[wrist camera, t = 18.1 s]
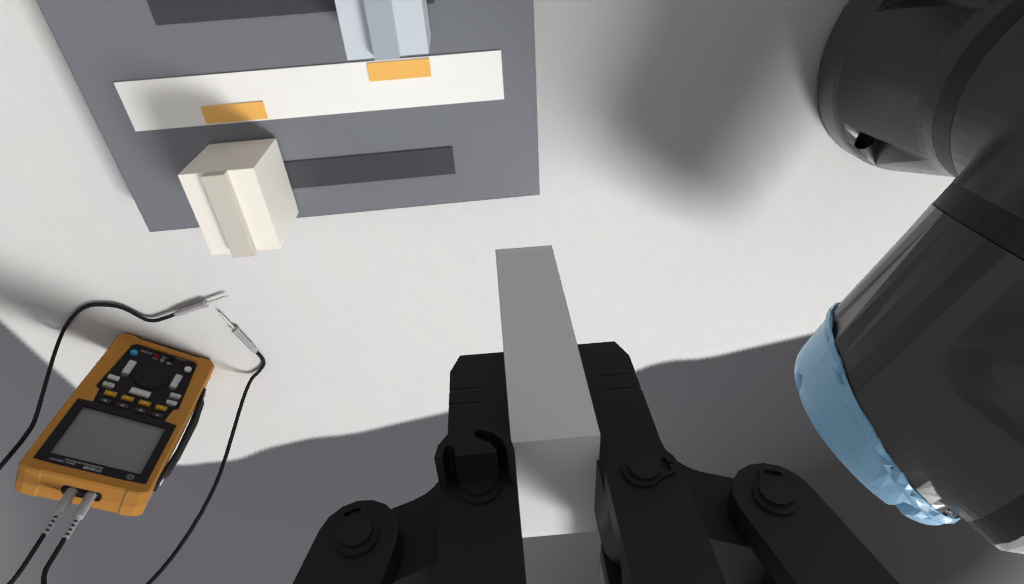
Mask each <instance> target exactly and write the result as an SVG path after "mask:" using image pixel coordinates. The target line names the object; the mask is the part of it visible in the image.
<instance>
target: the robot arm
mask: <svg viewBox="0 0 1024 584" xmlns="http://www.w3.org/2000/svg"><path fill="white" fill-rule="evenodd" d="M818 105H819V111H820V115H821V118H822V121H823V124H824V126H825V128H826V130H827V132H828V133H829V135H830V136H831V137H832V139H833V140H834V141H835V142H836V143H837V144H838V145H839V146H840V147H841V148H843V149H844V150H846V151H847V152H849V153H851V154H852V155H854V156H856V157H857V158H859V159H861V160H862V161H864V162H866V163H868V164H871V165H873V166H876V167H879V168H883V169H887V170H893V171H902V172H912V173H921V174H931V175H941V176H950V177H955V179H954V180H953V182H952V183H951V184H950V185H949V186H948V187H947V189H946V190H945V191H944V192H943V193H942V194H941V195H940V196H939V197H938V198H937V199H936V200H935V202H933V203H932V204H931V205H930V206H929V207H928V208H927V210H926V211H925V212H924V213H923V214H922V215H921V216H920V217H919V218H918V220H917V221H916V222H915V223H914V224H913V225H912V226H911V227H910V229H909V230H908V231H907V232H906V233H905V234H904V235H903V236H902V237H901V239H900V240H899V241H898V242H897V243H896V244H895V245H894V246H893V247H892V248H891V249H890V250H889V251H888V252H887V254H886V255H885V256H884V257H883V258H882V259H881V260H880V261H879V262H878V263H877V264H876V265H875V266H874V267H873V269H872V270H871V271H870V272H869V273H868V274H867V275H866V276H865V277H864V278H863V279H862V280H861V281H860V282H859V284H858V285H857V286H856V287H855V288H854V289H853V290H852V291H851V292H850V293H849V294H848V295H847V296H846V297H845V299H844V300H843V301H842V302H840V303H835V304H834V305H833V306H832V307H831V308H830V309H829V310H828V312H827V315H826V319H825V321H824V322H823V323H822V324H821V326H820V327H819V328H818V329H817V330H816V332H815V333H814V334H813V335H812V337H811V338H810V339H809V340H808V341H807V343H806V344H805V345H804V346H803V347H802V349H801V350H800V352H799V354H798V356H797V359H796V363H795V379H796V386H797V388H798V390H799V393H800V398H801V402H802V404H803V406H804V408H805V410H806V412H807V414H808V416H809V418H810V420H811V421H812V423H813V425H814V426H815V428H816V429H817V431H818V432H819V434H820V435H821V437H822V438H823V439H824V441H825V442H826V444H827V445H828V446H829V447H830V449H831V450H832V451H833V452H834V454H835V455H836V456H837V457H838V458H839V460H840V461H841V462H842V463H843V464H844V465H845V466H846V467H847V468H848V470H850V472H851V473H852V474H853V475H854V476H855V477H856V478H857V479H858V480H859V481H860V482H861V483H862V484H864V485H865V486H866V487H867V488H868V489H869V490H870V491H871V492H872V493H874V494H875V495H876V496H878V497H879V498H880V499H881V500H883V501H884V502H885V503H887V504H889V505H896V507H897V508H898V509H899V510H900V511H901V513H902V514H903V515H905V516H907V517H909V518H911V519H913V520H915V521H917V522H920V523H923V524H927V525H941V524H944V523H946V524H950V523H955V522H957V521H958V520H959V519H960V518H963V519H965V520H966V521H967V522H968V523H970V524H971V525H972V526H973V527H974V528H975V529H976V530H977V531H979V532H980V533H981V534H982V535H983V536H984V537H985V538H986V539H988V540H989V541H990V542H991V543H992V544H993V545H995V546H996V547H997V548H999V549H1000V550H1003V551H1010V552H1016V553H1022V554H1024V0H851V1H850V2H849V4H848V5H847V7H846V8H845V10H844V11H843V13H842V15H841V16H840V18H839V20H838V22H837V24H836V25H835V27H834V29H833V32H832V34H831V36H830V38H829V41H828V43H827V46H826V49H825V52H824V55H823V58H822V62H821V66H820V71H819V78H818ZM496 263H497V275H498V288H499V300H500V312H501V325H502V337H503V349H504V352H499V353H487V354H475V355H463V356H460V357H459V358H458V360H457V362H456V363H455V365H454V367H453V368H452V370H451V372H450V393H449V416H448V435H447V436H446V437H445V438H444V439H443V440H442V442H441V443H440V444H439V445H438V448H437V451H436V454H435V457H434V459H435V464H436V469H437V474H438V479H439V482H438V483H437V484H436V485H435V486H434V488H432V489H431V490H430V491H428V492H427V493H426V494H425V495H423V496H421V497H419V498H417V499H415V500H413V501H411V502H408V503H406V504H403V505H400V506H398V507H395V508H393V509H390V508H389V507H388V506H387V505H386V504H383V503H380V502H376V501H374V500H366V501H356V502H354V503H351V504H349V505H346V506H343V507H342V508H340V509H339V510H338V511H337V512H335V513H334V514H332V515H331V516H330V517H329V518H328V519H327V521H326V522H325V523H324V525H323V526H322V528H321V529H320V530H319V532H318V534H317V536H316V538H315V540H314V542H313V544H312V546H311V548H310V550H309V552H308V554H307V556H306V558H305V560H304V562H303V564H302V566H301V568H300V570H299V572H298V574H297V576H296V578H295V580H294V582H293V584H526V574H525V563H524V553H523V541H522V538H523V537H535V536H545V535H556V534H567V533H578V532H589V531H595V530H596V520H597V525H598V529H599V535H600V539H601V548H600V563H599V582H605V584H899V583H898V582H897V581H896V580H895V578H894V577H893V576H892V575H891V574H890V573H889V572H888V571H887V570H886V569H885V567H883V565H882V564H881V563H880V562H879V561H878V560H877V559H876V558H875V557H874V555H873V554H872V553H871V552H870V551H869V550H868V549H867V548H866V547H865V546H864V544H862V542H861V541H860V540H859V539H858V538H857V537H856V536H855V535H854V533H853V532H852V531H851V530H850V529H849V528H848V527H847V526H846V525H845V524H844V522H843V521H842V520H841V519H840V518H839V517H838V516H837V515H836V514H835V513H834V511H833V510H832V509H831V508H830V507H829V506H828V505H827V504H826V503H825V502H824V501H823V500H822V498H821V497H820V496H819V495H818V494H817V493H816V492H815V491H814V490H813V488H812V487H811V486H810V485H809V484H808V483H806V482H805V481H804V480H803V479H802V478H800V477H799V476H798V475H797V474H795V473H794V472H791V471H789V470H787V469H785V468H783V467H781V466H777V465H771V464H766V463H760V464H753V465H748V466H747V467H745V468H743V469H741V470H739V471H738V473H737V474H736V476H735V478H730V477H724V476H719V475H714V474H708V473H704V472H700V471H697V470H693V469H691V468H689V467H687V466H685V465H683V464H681V463H680V462H678V461H677V460H676V459H675V457H674V456H673V455H671V454H670V453H669V452H668V451H666V449H665V448H664V446H663V444H662V442H661V440H660V438H659V435H658V432H657V430H656V427H655V424H654V421H653V419H652V416H651V413H650V411H649V408H648V405H647V402H646V400H645V397H644V394H643V392H642V390H641V388H640V384H639V381H638V378H637V376H636V375H635V370H634V367H633V365H632V362H631V359H630V357H629V355H628V354H627V353H626V352H625V351H624V350H623V349H622V348H621V347H620V346H619V345H618V344H617V343H616V342H615V341H614V342H602V343H590V344H578V345H577V342H576V338H575V334H574V330H573V326H572V323H571V319H570V315H569V311H568V307H567V303H566V299H565V295H564V291H563V288H562V284H561V280H560V276H559V272H558V268H557V264H556V260H555V256H554V253H553V249H552V245H549V246H536V247H524V248H511V249H498V250H496Z"/></svg>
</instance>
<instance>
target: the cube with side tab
mask: <svg viewBox="0 0 1024 584" xmlns="http://www.w3.org/2000/svg"><path fill="white" fill-rule="evenodd" d="M335 5H336V9H337V14H338V19H339V23H340V28H341V32H342V37H343V42H344V46H345V51H346V56H347V60H358V59H370V58H374V59H375V61H377V60H389V59H400V56H405V55H417V54H429V48H430V40H431V31H430V24H429V16H428V9H427V1H426V0H335Z"/></svg>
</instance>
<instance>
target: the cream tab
mask: <svg viewBox="0 0 1024 584" xmlns="http://www.w3.org/2000/svg"><path fill="white" fill-rule="evenodd" d="M178 177H179V179H180V182H181V184H182V186H183V189H184V191H185V193H186V196H187V198H188V200H189V203H190V205H191V207H192V210H193V212H194V214H195V217H196V219H197V221H198V224H199V226H200V228H201V231H202V233H203V235H204V238H205V240H206V242H207V245H208V247H209V249H210V251H211V254H212V255H218V254H228V253H231V254H232V257H233V258H237V257H248V256H254V255H255V253H256V252H257V251H259V250H269V249H279V248H281V247H282V245H283V243H284V241H285V239H286V237H287V235H288V233H289V231H290V229H291V227H292V225H293V223H294V221H295V219H296V217H297V215H298V213H299V211H298V208H297V204H296V201H295V198H294V195H293V191H292V188H291V185H290V182H289V179H288V175H287V172H286V169H285V166H284V162H283V159H282V156H281V153H280V149H279V146H278V143H277V140H276V138H272V139H261V140H250V141H239V142H227V143H216V144H209V145H208V146H207V147H206V148H205V149H204V150H203V151H202V152H201V153H200V154H199V155H198V156H197V157H196V158H195V159H194V160H193V161H192V162H190V163H189V164H188V165H187V166H186V167H185V168H184V169H183V170H182V171H181V172H180V173H179V174H178Z"/></svg>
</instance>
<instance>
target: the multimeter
mask: <svg viewBox="0 0 1024 584" xmlns="http://www.w3.org/2000/svg"><path fill="white" fill-rule="evenodd" d="M226 297H228V296H222V297H219V298H216V299H214V300H211V301H208V302H207V301H206V300H203V301H202V302H199V303H196V304H193V305H191V306H188V307H185V308H182V309H179V310H177V311H175V312H174V313H172V314H170V315H167V316H164V317H161V318H157V319H148V318H145V317H143V316H141V315H139V314H138V313H136V312H134V311H132V310H130V309H128V308H126V307H123V306H120V305H116V304H108V303H92V304H87V305H85V306H82V307H81V308H79V309H78V310H76V311H75V312H74V313H73V314H72V315H71V317H70V318H69V319H68V320H67V322H66V324H65V325H64V327H63V329H62V330H61V332H60V335H59V337H58V339H57V342H56V345H55V348H54V350H53V354H52V357H51V360H50V363H49V366H48V370H47V373H46V376H45V380H44V383H43V387H42V391H41V394H40V397H39V401H38V404H37V408H36V411H35V414H34V417H33V420H32V422H31V424H30V426H29V428H28V429H27V431H26V432H25V433H24V435H23V436H22V437H21V439H20V440H19V442H18V443H17V444H16V445H15V446H14V447H13V449H12V450H11V451H10V452H9V454H8V455H7V456H6V457H5V458H4V459H3V461H2V462H1V463H0V470H1V469H2V468H3V466H4V465H5V464H6V463H7V462H8V460H9V459H10V458H11V457H12V455H13V454H14V453H15V452H16V451H17V450H18V448H19V447H20V446H21V445H22V443H23V442H24V441H25V439H26V438H27V437H28V435H29V434H30V433H31V431H32V429H33V428H34V426H35V424H36V422H37V419H38V416H39V413H40V409H41V406H42V402H43V398H44V395H45V392H46V388H47V384H48V381H49V377H50V374H51V370H52V367H53V363H54V360H55V357H56V354H57V351H58V348H59V345H60V342H61V340H62V337H63V335H64V333H65V331H66V329H67V327H68V325H69V324H70V322H71V321H72V320H73V318H74V317H75V316H76V315H77V314H78V313H79V312H81V311H82V310H84V309H86V308H89V307H95V306H103V307H114V308H119V309H122V310H124V311H127V312H129V313H131V314H133V315H134V316H136V317H138V318H140V319H142V320H144V321H147V322H159V321H162V320H165V319H168V318H171V317H174V316H180V315H184V314H186V313H189V312H192V311H195V310H198V309H201V308H204V307H208V304H210V303H213V302H216V301H218V300H221V299H224V298H226ZM219 314H220V316H221V317H222V318H223V319H224V320H225V321H226V322H227V323H228V324H229V325H230V326H231V327H232V329H233V330H232V332H233V333H235V334H236V336H237V337H238V338H239V339H240V340H241V341H242V342H243V343H244V344H245V345H246V346H247V347H248V348H249V349H250V350H251V351H252V352H254V353H256V354H257V355H258V357H259V358H260V359H261V361H262V366H261V367H260V368H259V370H258V371H257V372H256V373H255V374H254V375H253V376H252V377H251V378H250V380H249V381H248V383H247V386H246V388H245V390H244V393H243V396H242V399H241V402H240V405H239V408H238V411H237V415H236V418H235V421H234V425H233V428H232V431H231V435H230V438H229V441H228V445H227V448H226V452H225V455H224V458H223V461H222V464H221V467H220V470H219V472H218V475H217V477H216V480H215V482H214V485H213V487H212V489H211V491H210V493H209V495H208V497H207V499H206V501H205V503H204V505H203V506H202V508H201V510H200V512H199V514H198V516H197V517H196V519H195V520H194V522H193V524H192V525H191V527H190V529H189V530H188V532H187V533H186V535H185V536H184V538H183V539H182V541H181V542H180V543H179V545H178V546H177V548H176V549H175V551H174V552H173V553H172V555H171V556H170V557H169V558H168V559H167V561H166V562H165V563H164V564H163V566H162V567H161V568H160V569H159V570H158V572H157V573H156V574H155V575H154V576H153V577H152V578H151V579H150V580H149V581H148V582H147V583H146V584H151V583H152V582H153V581H154V580H155V579H156V578H157V577H158V576H159V575H160V574H161V573H162V572H163V570H164V569H165V568H166V567H167V566H168V564H169V563H170V562H171V561H172V559H173V558H174V557H175V556H176V554H177V553H178V552H179V550H180V549H181V547H182V546H183V544H184V543H185V541H186V540H187V539H188V537H189V536H190V534H191V533H192V531H193V529H194V528H195V526H196V524H197V523H198V521H199V519H200V518H201V516H202V514H203V512H204V511H205V509H206V507H207V505H208V503H209V501H210V499H211V497H212V495H213V493H214V491H215V489H216V487H217V484H218V482H219V480H220V477H221V474H222V472H223V469H224V466H225V463H226V460H227V457H228V454H229V451H230V447H231V444H232V440H233V437H234V434H235V430H236V427H237V423H238V420H239V416H240V413H241V410H242V406H243V403H244V400H245V397H246V394H247V391H248V389H249V387H250V384H251V382H252V381H253V379H254V378H255V377H256V376H257V375H258V374H259V373H260V372H261V371H262V369H263V368H264V366H265V359H264V358H263V356H262V355H261V354H260V353H259V352H258V350H257V348H256V347H255V345H254V344H253V343H252V342H251V341H250V340H249V339H248V338H247V337H246V336H245V335H244V334H243V333H242V332H241V330H240V329H239V327H234V326H233V325H232V324H231V323H230V321H229V320H228V319H227V318H226V317H225V316H224V315H223V314H221V313H220V312H219ZM213 369H214V365H213V363H212V362H211V361H210V360H208V359H205V358H203V357H200V358H198V357H195V356H192V355H189V354H186V353H182V352H179V351H176V350H173V349H170V348H167V347H164V346H161V345H158V344H154V343H151V342H148V341H145V340H142V339H139V337H137V336H134V335H130V334H122V335H119V336H117V338H116V340H115V341H114V342H113V344H112V345H111V346H110V347H109V349H108V350H107V351H106V352H105V354H104V355H103V356H102V357H101V359H100V360H99V361H98V362H97V364H96V365H95V366H94V367H93V369H92V370H91V371H90V372H89V374H88V375H87V376H86V377H85V378H84V380H83V381H82V382H81V383H80V385H79V386H78V387H77V389H76V390H75V391H74V392H73V394H72V395H71V396H70V398H69V399H68V400H67V401H66V403H65V404H64V405H63V407H62V408H61V409H60V411H59V412H58V413H57V414H56V416H55V417H54V418H53V420H52V421H51V422H50V423H49V425H48V426H47V427H46V429H45V430H44V431H43V432H42V434H41V435H40V436H39V438H38V439H37V440H36V441H35V443H34V444H33V445H32V447H31V448H30V449H29V451H28V452H27V453H26V454H25V456H24V457H23V458H22V460H21V461H20V462H19V467H18V472H17V477H16V481H15V489H16V490H18V491H19V492H21V493H24V494H28V495H32V496H40V497H45V498H50V499H54V500H59V502H58V504H57V505H56V507H55V508H54V510H53V512H52V513H53V515H52V517H51V518H50V520H49V522H48V523H47V524H46V526H45V527H44V529H43V531H42V532H41V533H40V534H41V536H40V538H39V539H38V541H37V542H36V544H35V545H34V547H33V548H32V550H31V551H30V553H29V555H28V556H27V558H26V559H25V561H24V562H23V564H22V565H21V567H20V568H19V569H18V571H17V572H16V573H15V575H14V576H13V578H12V579H11V580H10V581H9V582H8V583H7V584H13V583H14V582H15V581H16V580H17V578H18V577H19V576H20V575H21V573H22V572H23V570H24V569H25V567H26V566H27V564H28V563H29V561H30V560H31V558H32V556H33V555H34V553H35V552H36V550H37V549H38V547H39V546H40V544H41V543H42V541H43V539H44V538H45V536H48V534H49V533H50V531H51V529H52V528H53V526H54V525H55V523H56V522H57V520H58V519H59V517H60V516H62V515H63V514H64V513H65V511H66V510H67V508H68V507H69V505H70V503H73V504H78V507H77V509H76V510H75V512H74V513H73V515H72V517H73V519H72V521H71V522H70V524H69V526H68V527H67V529H66V531H65V532H64V534H63V536H62V537H61V541H60V543H59V544H58V546H57V547H56V549H55V551H54V552H53V554H52V555H51V557H50V559H49V560H48V562H47V564H46V565H45V567H44V569H43V572H42V576H41V584H47V573H48V570H49V568H50V566H51V564H52V563H53V561H54V560H55V558H56V556H57V555H58V553H59V551H60V550H61V548H62V546H63V545H64V543H65V541H66V540H68V539H69V537H70V535H71V534H72V532H73V530H74V529H75V527H76V525H77V524H78V522H79V520H82V519H83V518H84V516H85V514H86V513H87V511H88V509H89V508H90V507H92V508H96V509H101V510H106V511H111V512H115V513H118V514H120V515H126V516H138V515H140V514H142V513H143V510H144V509H145V507H146V505H147V503H148V501H149V499H150V497H151V495H152V493H153V491H154V492H155V491H156V490H157V489H158V487H159V486H160V485H161V484H162V482H163V480H165V479H166V478H167V477H168V476H169V475H170V474H171V472H172V470H173V469H174V467H175V465H176V464H177V462H178V461H179V459H180V457H181V455H182V453H183V451H184V449H185V447H186V446H187V444H188V442H189V440H190V438H191V436H192V434H193V432H194V430H195V428H196V426H197V424H198V421H199V418H200V414H201V411H202V408H203V405H204V398H205V392H206V388H205V387H206V386H207V383H208V381H209V379H210V376H211V374H212V371H213ZM193 411H194V412H193ZM192 413H193V415H192ZM191 415H192V417H191ZM190 417H191V420H190V422H189V424H188V426H187V429H186V431H185V433H184V435H183V437H182V439H181V441H180V443H179V445H178V447H177V450H176V451H175V453H174V454H173V456H172V457H171V455H172V453H173V451H174V449H175V447H176V445H177V443H178V441H179V440H180V438H181V436H182V434H183V431H184V429H185V427H186V425H187V423H188V421H189V419H190ZM170 457H171V459H170ZM169 459H170V460H169ZM168 461H169V462H168Z"/></svg>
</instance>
